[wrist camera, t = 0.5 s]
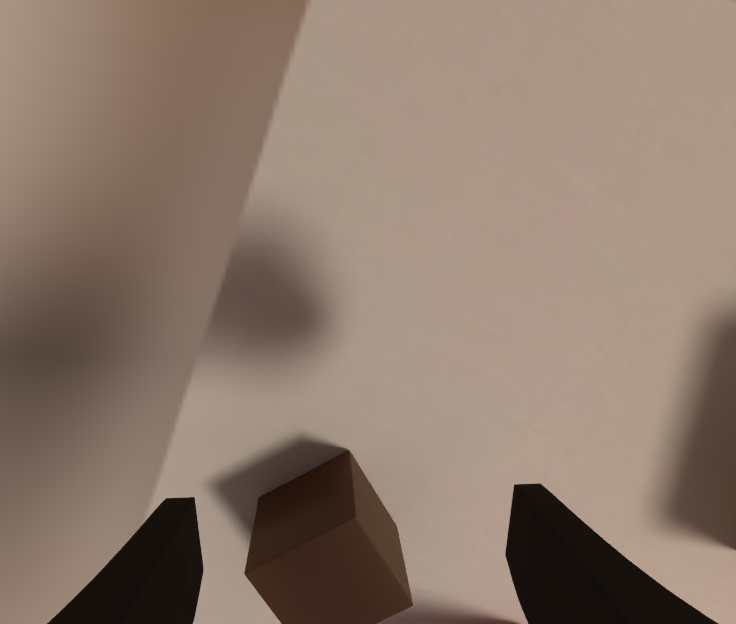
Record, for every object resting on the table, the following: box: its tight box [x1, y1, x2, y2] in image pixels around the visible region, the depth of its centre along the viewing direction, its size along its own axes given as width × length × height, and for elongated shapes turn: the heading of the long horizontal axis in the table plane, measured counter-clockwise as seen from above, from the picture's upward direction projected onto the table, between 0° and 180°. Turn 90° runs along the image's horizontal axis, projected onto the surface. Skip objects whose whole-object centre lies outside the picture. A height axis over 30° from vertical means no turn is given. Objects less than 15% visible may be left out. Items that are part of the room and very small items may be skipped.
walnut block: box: [245, 451, 413, 624], centre depth 22 cm, size 4×4×4 cm
